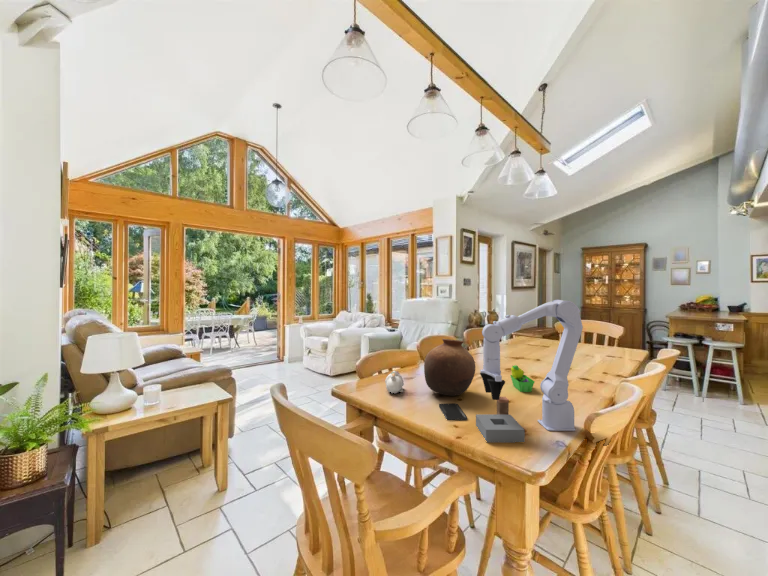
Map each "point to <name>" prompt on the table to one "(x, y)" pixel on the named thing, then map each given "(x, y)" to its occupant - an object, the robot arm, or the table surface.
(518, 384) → the fruit basket
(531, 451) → the table surface
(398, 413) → the table surface
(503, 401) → the peg
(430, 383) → the pottery
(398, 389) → the white rounded piece
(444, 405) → the phone
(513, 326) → the robot arm
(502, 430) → the socket block
